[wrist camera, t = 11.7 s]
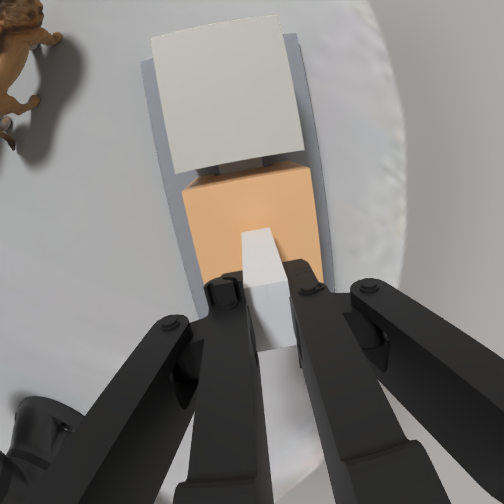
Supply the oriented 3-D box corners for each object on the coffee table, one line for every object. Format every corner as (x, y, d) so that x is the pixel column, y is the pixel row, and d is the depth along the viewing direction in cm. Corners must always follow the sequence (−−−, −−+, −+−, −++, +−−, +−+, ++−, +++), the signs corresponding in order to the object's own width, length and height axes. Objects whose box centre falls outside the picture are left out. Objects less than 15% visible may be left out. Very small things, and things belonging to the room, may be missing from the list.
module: (218, 274, 26) (213, 319, 20) (196, 177, 23) (181, 191, 17) (303, 258, 26) (325, 299, 19) (289, 160, 23) (309, 168, 17)
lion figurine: (35, 5, 17) (-19, -21, 9) (77, 0, 18) (27, -37, 10) (0, 148, 22) (-65, 160, 14) (39, 152, 23) (-27, 164, 14)
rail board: (205, 332, 29) (198, 391, 22) (143, 65, 21) (107, 37, 13) (333, 309, 29) (360, 362, 21) (294, 36, 21) (317, -3, 13)
